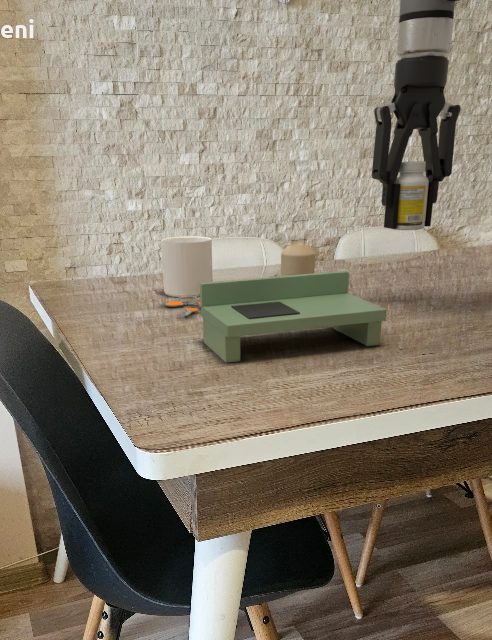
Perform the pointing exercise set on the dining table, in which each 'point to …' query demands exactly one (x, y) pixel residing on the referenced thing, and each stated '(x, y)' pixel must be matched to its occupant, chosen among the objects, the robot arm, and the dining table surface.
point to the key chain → (193, 302)
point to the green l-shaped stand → (284, 309)
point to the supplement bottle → (412, 196)
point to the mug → (186, 264)
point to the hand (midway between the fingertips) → (407, 226)
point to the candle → (297, 259)
